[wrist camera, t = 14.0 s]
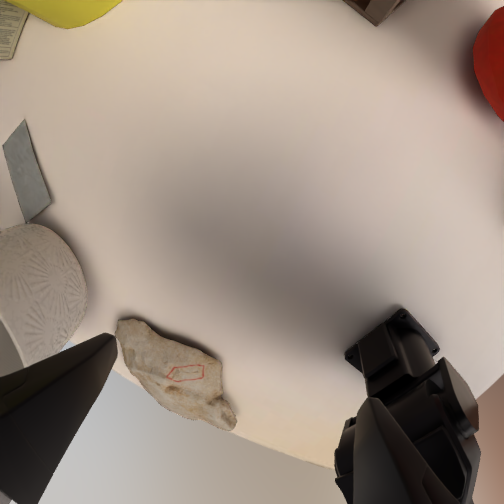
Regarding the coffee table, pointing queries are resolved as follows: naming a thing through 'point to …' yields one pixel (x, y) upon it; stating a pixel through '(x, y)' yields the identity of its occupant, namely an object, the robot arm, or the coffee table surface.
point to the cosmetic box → (10, 27)
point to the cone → (66, 10)
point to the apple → (491, 60)
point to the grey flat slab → (25, 173)
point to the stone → (175, 374)
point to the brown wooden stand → (375, 8)
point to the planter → (37, 295)
